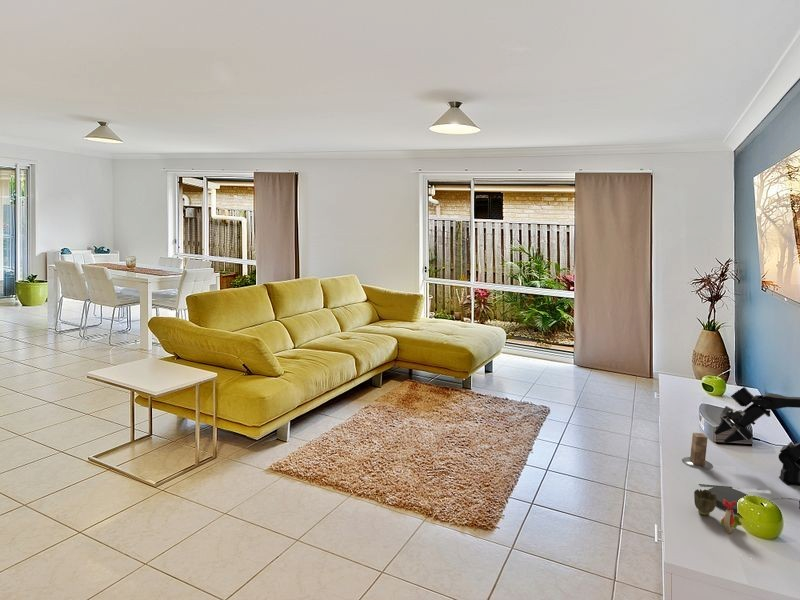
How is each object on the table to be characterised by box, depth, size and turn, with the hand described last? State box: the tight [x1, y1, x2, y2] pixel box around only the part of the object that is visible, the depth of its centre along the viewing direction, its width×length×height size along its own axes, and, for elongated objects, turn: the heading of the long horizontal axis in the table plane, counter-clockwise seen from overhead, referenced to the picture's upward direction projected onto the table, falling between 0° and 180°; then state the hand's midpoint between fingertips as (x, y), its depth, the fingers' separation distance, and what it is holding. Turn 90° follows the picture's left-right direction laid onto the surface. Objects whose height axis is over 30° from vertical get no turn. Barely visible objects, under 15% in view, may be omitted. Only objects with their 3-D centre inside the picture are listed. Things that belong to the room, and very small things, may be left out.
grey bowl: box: [681, 456, 714, 471], centre depth 233 cm, size 12×12×5 cm
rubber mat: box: [698, 483, 733, 488], centre depth 218 cm, size 12×10×1 cm
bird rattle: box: [720, 499, 743, 534], centre depth 184 cm, size 6×11×9 cm
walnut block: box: [689, 432, 709, 466], centre depth 232 cm, size 4×4×13 cm
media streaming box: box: [706, 485, 748, 514], centre depth 203 cm, size 15×15×3 cm
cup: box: [693, 488, 718, 517], centre depth 194 cm, size 8×7×8 cm
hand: (719, 437), depth 230 cm, fingers open, 9 cm apart
